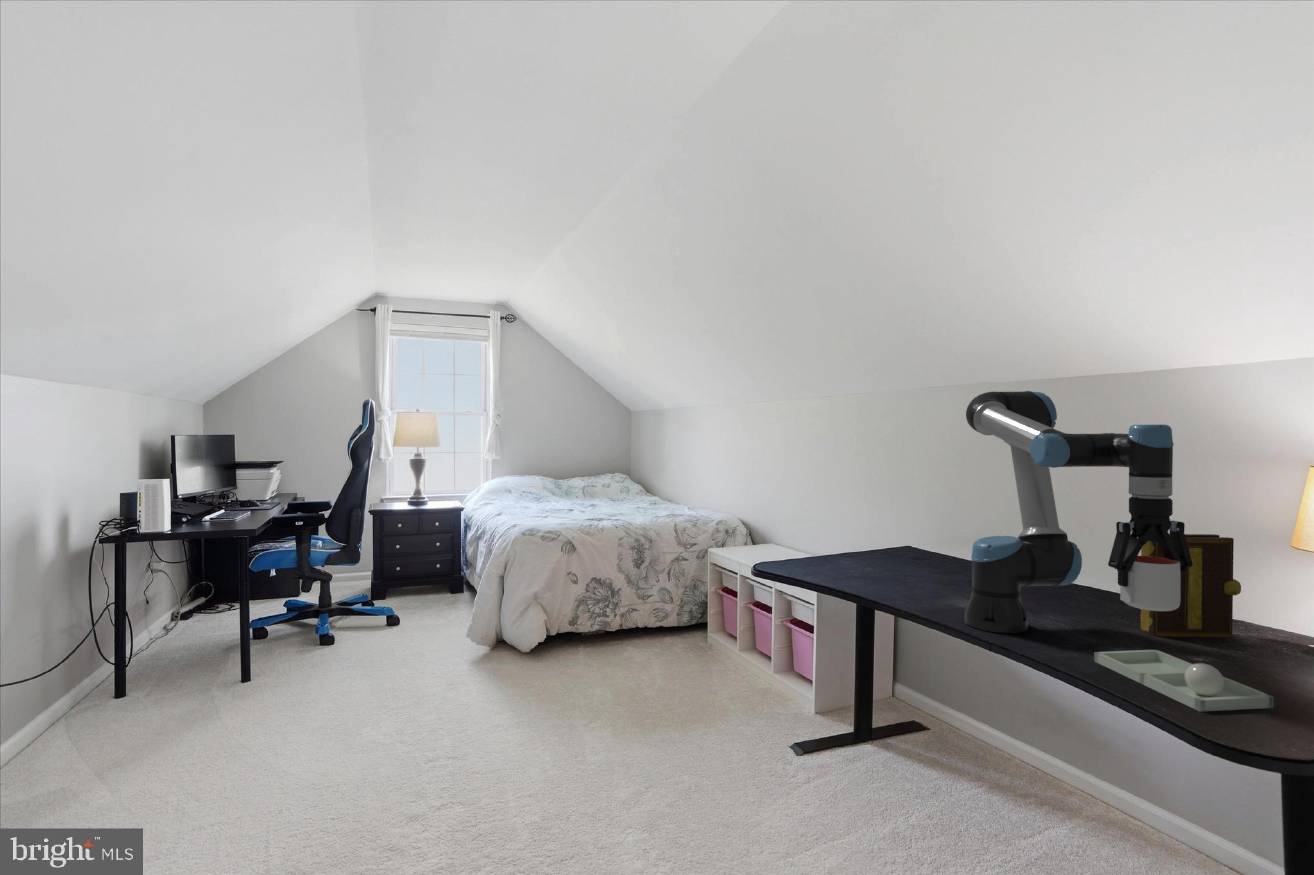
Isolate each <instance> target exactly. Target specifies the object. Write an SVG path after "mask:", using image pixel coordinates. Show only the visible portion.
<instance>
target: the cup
mask: <svg viewBox="0 0 1314 875" xmlns="http://www.w3.org/2000/svg"><path fill="white" fill-rule="evenodd" d="M1130 571H1131V572H1134V603H1128V602H1125V601H1123V602H1124V604H1126V605H1128V606H1130V607H1132V608H1136V609H1139V610H1141V609H1145V610H1152V611H1172V610H1175V609H1177V608H1178V607H1179V606H1180V562H1178V561H1176V560H1170V559H1167V558H1161V557H1152V556H1141V555H1138V556H1137V558H1136V560H1135V561H1134V563H1133V565H1132V567H1131V569H1130Z"/></svg>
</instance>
